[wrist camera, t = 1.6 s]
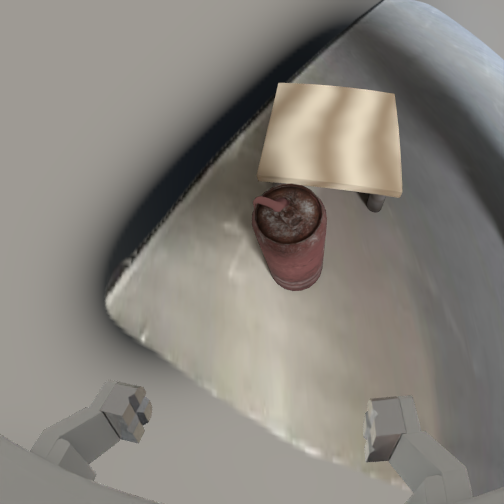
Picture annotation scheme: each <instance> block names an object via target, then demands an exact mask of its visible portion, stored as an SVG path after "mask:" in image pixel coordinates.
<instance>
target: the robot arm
mask: <svg viewBox="0 0 504 504" xmlns="http://www.w3.org/2000/svg"><path fill="white" fill-rule="evenodd" d="M145 394H146V391H145V389H144V388H143V387H141V386H136V385H131V384H126V383H122V382H117V381H113V380H108V381H106V382H105V383H104V385H103V386H102V388H101V390H100V391H99V393H98V394H97V396H96V397H95V399H94V400H93V402H92V404H91V405H90V407H89V408H88V407H85V408H84V409H82V410H80V411H78V412H76V413H74V414H73V415H71V416H69V417H67V418H65V419H63V420H61V421H60V422H58V423H56V424H54V425H52V426H50V427H48V428H46V429H45V430H43V432H42V433H41V435H40V437H39V438H38V440H37V441H36V443H35V444H34V446H33V447H32V449H31V450H30V451H29V450H27V449H25V448H23V447H21V446H19V445H18V444H16V443H14V442H12V441H11V440H9V439H8V438H6V437H4V436H3V435H1V434H0V504H164V503H160V502H157V501H153V500H149V499H146V498H142V497H139V496H136V495H132V494H129V493H126V492H123V491H120V490H117V489H114V488H111V487H109V486H106V485H103V484H100V483H98V482H95V481H94V479H95V477H96V472H95V471H94V470H93V469H92V468H91V467H90V465H89V464H90V463H91V462H93V461H94V460H95V459H97V458H98V457H99V456H101V455H102V454H103V453H104V452H106V451H107V450H108V449H110V448H111V447H112V446H114V445H115V444H116V443H117V442H119V441H120V439H122V440H127V441H130V442H135V443H139V442H140V440H141V437H142V435H143V433H144V427H143V426H144V425H145V424H146V423H148V422H149V420H150V418H151V413H152V405H151V402H150V400H149V399H147V398H146V397H145ZM367 407H368V411H367V412H366V413H365V416H364V422H363V435H364V438H365V439H366V440H367V441H366V444H365V459H366V462H379V461H389V463H390V464H391V465H392V467H393V468H394V469H395V470H396V472H397V473H398V474H399V475H400V477H401V478H402V479H403V480H404V482H405V483H406V484H407V485H408V486H409V488H410V489H411V490H412V491H413V494H412V496H411V497H410V498H409V499H408V500H407V501H406V503H405V504H504V487H502V488H499V489H496V490H494V491H491V492H488V493H485V494H482V495H479V496H476V497H473V495H472V490H471V486H470V481H469V477H468V473H467V469H466V467H465V466H464V465H463V464H462V463H461V462H460V461H458V460H457V459H456V458H455V457H454V456H453V455H452V454H451V453H449V452H448V451H447V450H446V449H445V448H444V447H443V446H441V445H440V444H439V443H438V442H437V441H436V440H435V439H434V438H432V437H431V436H430V435H429V434H428V433H427V432H426V431H421V428H420V424H419V420H418V416H417V412H416V408H415V404H414V400H413V397H412V396H411V395H408V396H398V397H396V396H395V397H385V398H374V399H369V401H368V405H367Z"/></svg>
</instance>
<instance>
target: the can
mask: <svg viewBox="0 0 504 504" xmlns="http://www.w3.org/2000/svg"><path fill="white" fill-rule="evenodd" d="M253 205H254V211H253V214H252V226H253V229H254V232H255V235H256V237H257V240H258V242H259V245H260V247H261V250H262V252H263V255H264V257H265V260H266V262H267V265H268V267H269V270H270V272H271V275H272V277H273V279H274V280H275V281H276V283H277V284H278V285H280V286H281V287H283V288H284V289H288V290H291V291H300V290H304V289H306V288H309V287H310V286H312V285H313V284H314V283H315V282H316V281H317V280H318V278H319V277H320V274H321V271H322V265H323V256H324V246H325V236H326V225H327V217H326V210H325V207H324V205H323V203H322V201H321V200H320V199H319V198H318V197H317V196H316V195H315V194H314V193H313V192H312V191H311V190H310V189H308V188H306V187H304V186H302V185H297V184H293V183H291V184H281V185H278V186H275V187H272V188H271V189H269V190H268V191H266V192H265V193H264V194H263V195H262V196H259V197H256V198H255V200H254V201H253Z"/></svg>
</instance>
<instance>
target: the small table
mask: <svg viewBox="0 0 504 504" xmlns="http://www.w3.org/2000/svg"><path fill="white" fill-rule="evenodd" d="M257 178H258V181H263V182H273V186H274V187H275V186H278V185H281V184H291V183H293V184H297V185H306V186H315V187H324V188H333V189H341V190H349V191H356V192H364V193H370V195H369V199H368V202H367V207H368V209H369V210H370V211H372V212H379V211H380V210H381V208H382V206H383V203H384V200H385V198H386V196H392V197H398V198H400V196H401V194H402V173H401V155H400V141H399V130H398V120H397V111H396V102H395V95H394V94H391V93H385V92H379V91H372V90H364V89H356V88H347V87H337V86H326V85H313V84H295V83H279V84H278V88H277V92H276V96H275V100H274V104H273V108H272V113H271V117H270V121H269V125H268V129H267V133H266V138H265V142H264V146H263V150H262V155H261V159H260V163H259V167H258V172H257Z"/></svg>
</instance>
